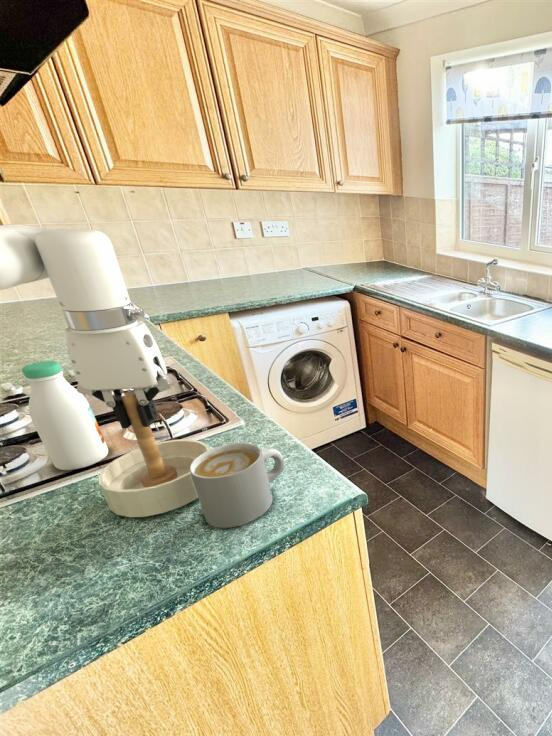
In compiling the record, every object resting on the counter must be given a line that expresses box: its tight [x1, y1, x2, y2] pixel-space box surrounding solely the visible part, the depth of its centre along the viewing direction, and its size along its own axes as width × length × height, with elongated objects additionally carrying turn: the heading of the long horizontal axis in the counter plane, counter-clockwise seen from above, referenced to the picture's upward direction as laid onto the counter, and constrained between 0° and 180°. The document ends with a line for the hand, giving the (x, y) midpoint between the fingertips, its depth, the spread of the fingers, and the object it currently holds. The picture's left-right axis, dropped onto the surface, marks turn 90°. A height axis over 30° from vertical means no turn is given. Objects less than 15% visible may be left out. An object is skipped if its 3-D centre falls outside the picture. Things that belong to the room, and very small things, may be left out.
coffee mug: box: [190, 442, 285, 529], centre depth 71 cm, size 13×10×10 cm
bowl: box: [97, 438, 211, 518], centre depth 74 cm, size 15×15×6 cm
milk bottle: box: [21, 360, 109, 471], centre depth 77 cm, size 8×8×20 cm
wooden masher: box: [121, 390, 178, 488], centre depth 71 cm, size 5×5×17 cm
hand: (139, 422), depth 70 cm, fingers closed on wooden masher
